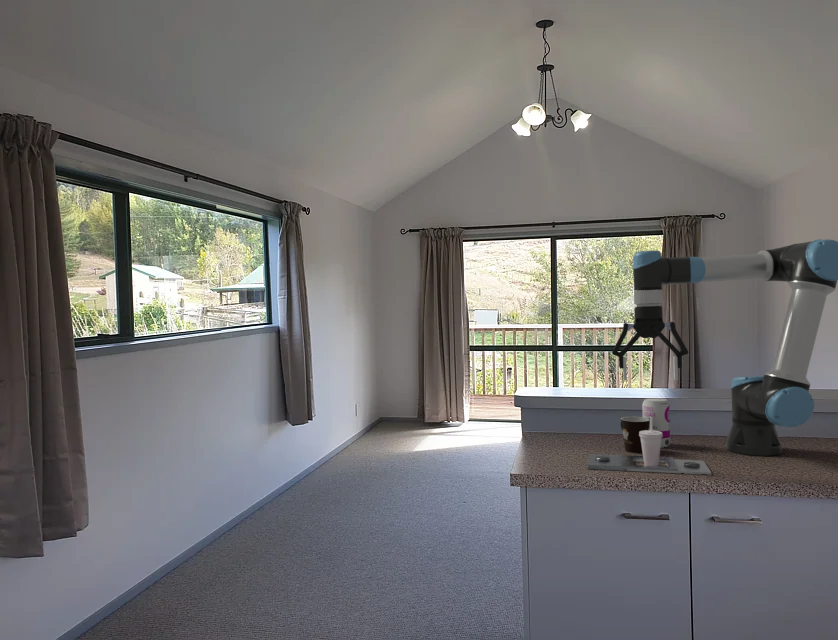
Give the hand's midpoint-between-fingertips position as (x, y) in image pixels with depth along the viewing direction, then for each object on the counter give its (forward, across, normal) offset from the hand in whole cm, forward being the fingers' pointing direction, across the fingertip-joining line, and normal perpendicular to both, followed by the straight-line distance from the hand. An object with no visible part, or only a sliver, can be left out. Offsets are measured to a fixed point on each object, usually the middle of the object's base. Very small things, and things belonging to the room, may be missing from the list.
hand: (650, 379), depth 174 cm
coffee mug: (+25, +4, -19) cm, 32 cm away
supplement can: (+25, -4, -26) cm, 36 cm away
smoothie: (+25, 0, +1) cm, 25 cm away
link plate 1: (+25, +6, +1) cm, 25 cm away
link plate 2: (+25, -3, +1) cm, 25 cm away
